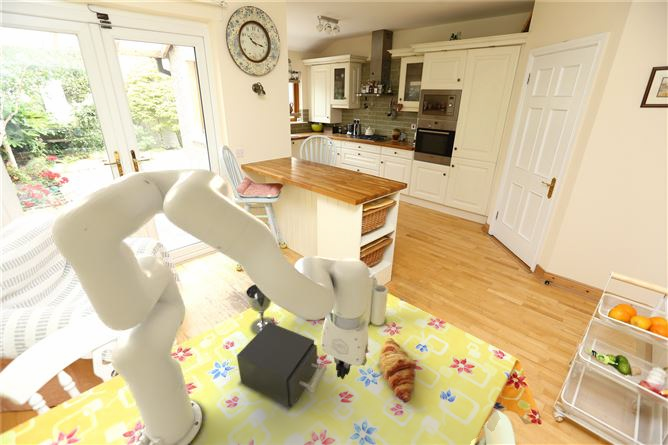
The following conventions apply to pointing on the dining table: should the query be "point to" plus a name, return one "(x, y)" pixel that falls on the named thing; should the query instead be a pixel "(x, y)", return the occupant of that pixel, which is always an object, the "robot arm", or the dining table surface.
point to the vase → (375, 301)
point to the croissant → (397, 369)
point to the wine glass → (258, 306)
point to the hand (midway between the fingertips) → (342, 373)
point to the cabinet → (272, 361)
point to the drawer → (305, 375)
